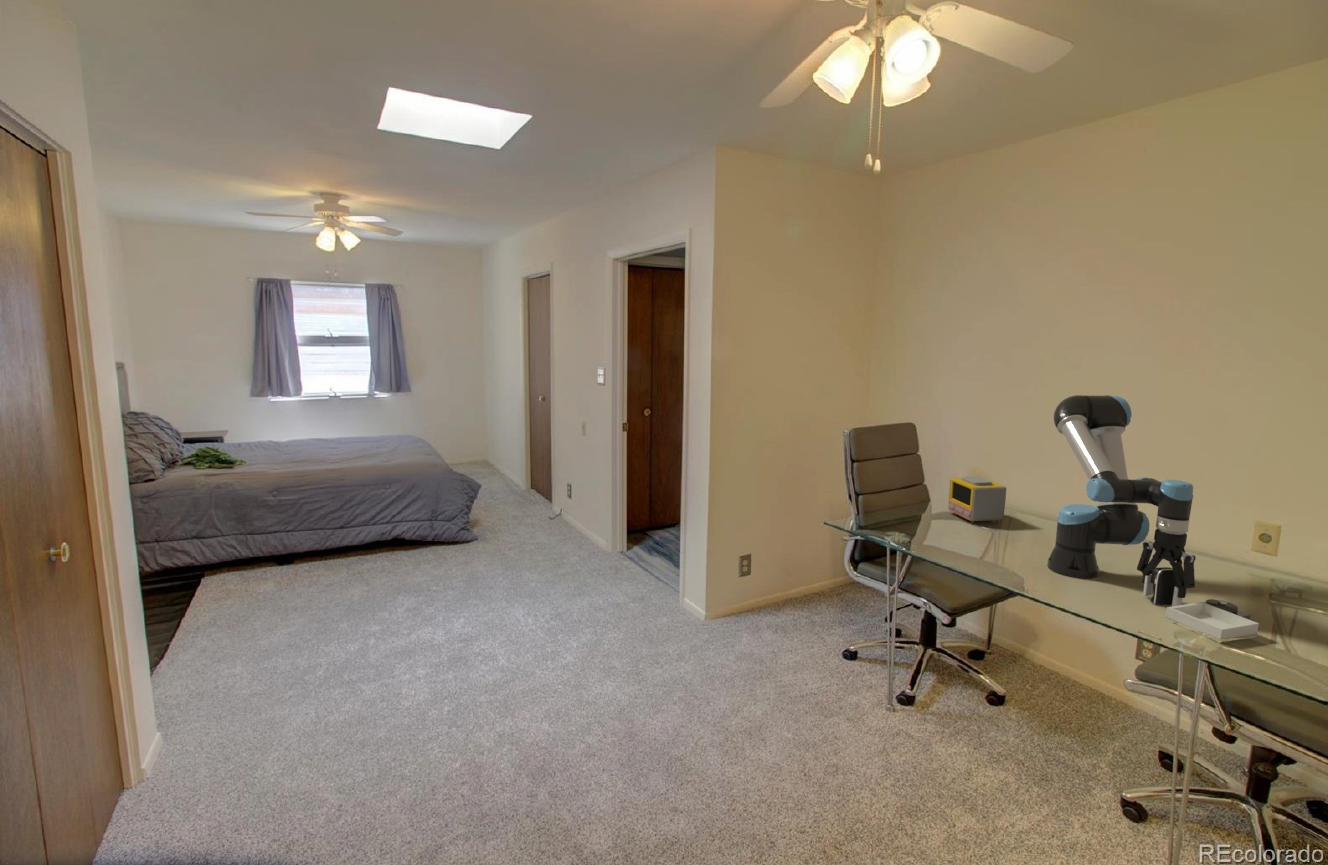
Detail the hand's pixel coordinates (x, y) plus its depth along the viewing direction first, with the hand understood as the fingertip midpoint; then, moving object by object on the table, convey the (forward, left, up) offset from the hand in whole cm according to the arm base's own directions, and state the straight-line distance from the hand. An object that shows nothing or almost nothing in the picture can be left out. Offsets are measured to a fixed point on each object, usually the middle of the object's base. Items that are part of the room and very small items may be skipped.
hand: (1161, 600), depth 186 cm
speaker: (+11, +8, -1) cm, 14 cm away
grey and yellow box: (-88, +9, -1) cm, 89 cm away
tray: (+16, -4, -1) cm, 17 cm away
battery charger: (0, 0, -1) cm, 1 cm away
